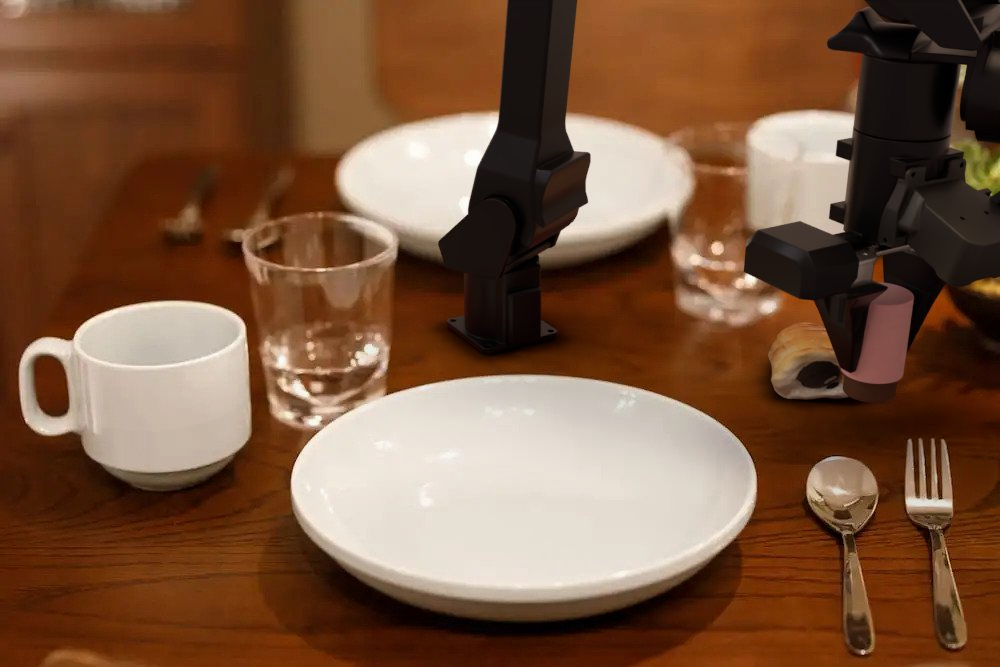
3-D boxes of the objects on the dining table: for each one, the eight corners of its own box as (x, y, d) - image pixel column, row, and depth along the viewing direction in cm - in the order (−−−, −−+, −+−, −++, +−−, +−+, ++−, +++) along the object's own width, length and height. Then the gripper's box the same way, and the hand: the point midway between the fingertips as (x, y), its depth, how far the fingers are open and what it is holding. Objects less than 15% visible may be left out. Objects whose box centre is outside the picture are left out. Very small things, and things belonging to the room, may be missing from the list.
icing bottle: (824, 386, 87) (835, 288, 84) (869, 373, 88) (881, 277, 86) (868, 410, 83) (881, 309, 81) (913, 396, 85) (927, 297, 82)
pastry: (762, 345, 98) (767, 298, 97) (854, 350, 98) (860, 303, 96) (770, 401, 90) (775, 350, 88) (870, 407, 89) (877, 356, 88)
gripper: (886, 188, 68) (853, 450, 74) (1119, 140, 77) (1072, 379, 83) (748, 138, 77) (729, 376, 83) (970, 100, 85) (938, 319, 92)
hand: (872, 363), depth 85 cm, fingers closed on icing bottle, 4 cm apart
